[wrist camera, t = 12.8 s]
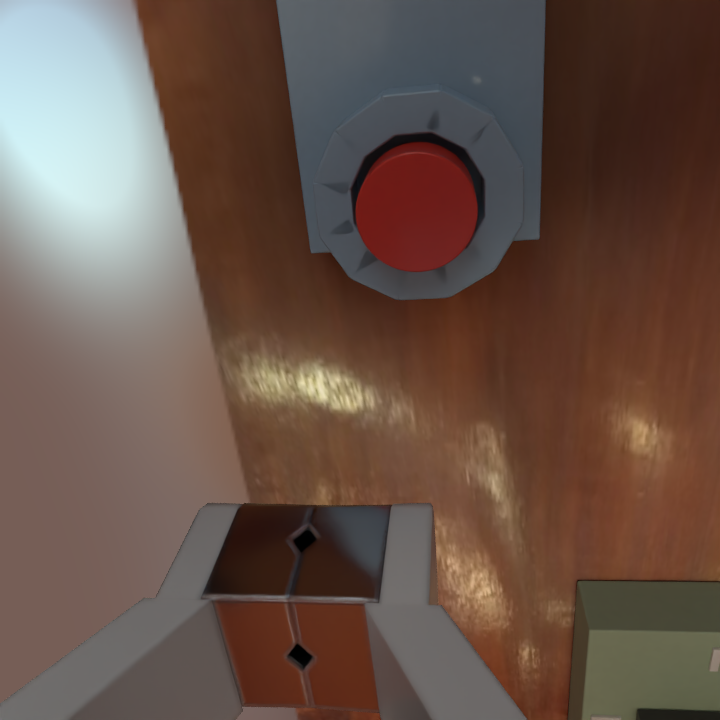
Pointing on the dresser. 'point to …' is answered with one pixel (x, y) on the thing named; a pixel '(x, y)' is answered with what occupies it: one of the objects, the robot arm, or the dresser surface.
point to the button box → (417, 118)
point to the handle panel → (644, 648)
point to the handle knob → (676, 715)
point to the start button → (417, 207)
